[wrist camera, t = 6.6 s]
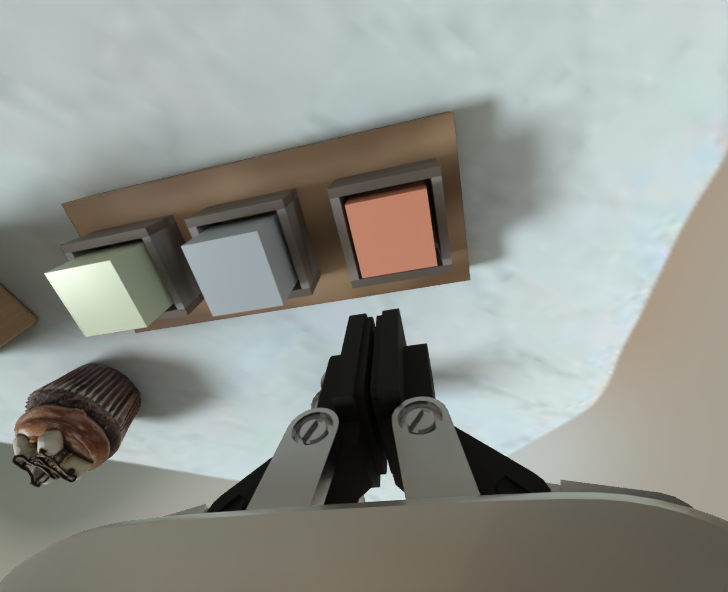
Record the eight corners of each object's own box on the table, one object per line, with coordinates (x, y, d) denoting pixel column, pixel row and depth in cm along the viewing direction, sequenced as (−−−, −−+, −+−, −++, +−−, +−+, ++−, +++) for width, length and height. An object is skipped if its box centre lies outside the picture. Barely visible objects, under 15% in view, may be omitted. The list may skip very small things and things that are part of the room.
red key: (351, 191, 26) (344, 205, 23) (422, 176, 25) (426, 188, 22) (366, 256, 28) (362, 278, 25) (432, 244, 28) (437, 265, 24)
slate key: (210, 226, 26) (180, 246, 22) (276, 213, 25) (257, 231, 22) (236, 289, 28) (213, 316, 25) (298, 279, 27) (283, 305, 24)
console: (85, 197, 31) (20, 216, 26) (448, 111, 26) (461, 113, 21) (151, 318, 36) (109, 355, 31) (465, 267, 31) (478, 301, 26)
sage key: (89, 251, 28) (43, 273, 24) (147, 239, 27) (109, 260, 23) (122, 309, 30) (85, 337, 26) (177, 299, 29) (147, 327, 25)
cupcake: (105, 344, 38) (16, 417, 29) (166, 409, 42) (105, 491, 33) (45, 374, 41) (-53, 448, 32) (108, 432, 45) (36, 514, 36)
